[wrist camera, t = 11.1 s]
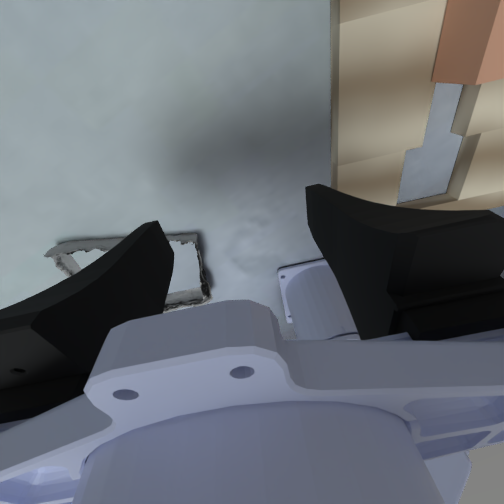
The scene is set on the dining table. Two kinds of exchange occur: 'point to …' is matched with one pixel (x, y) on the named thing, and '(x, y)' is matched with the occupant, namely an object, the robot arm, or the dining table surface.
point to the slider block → (471, 43)
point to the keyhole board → (405, 106)
